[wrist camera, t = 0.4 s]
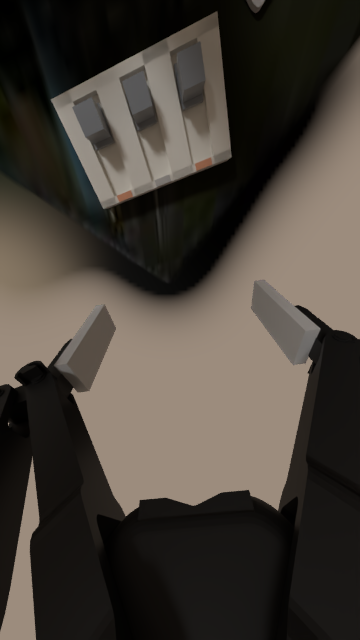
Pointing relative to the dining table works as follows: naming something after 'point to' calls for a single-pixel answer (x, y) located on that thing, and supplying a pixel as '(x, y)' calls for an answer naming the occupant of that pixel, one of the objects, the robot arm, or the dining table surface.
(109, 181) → the switch bank
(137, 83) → the switch tab
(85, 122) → the switch tab
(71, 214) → the dining table surface
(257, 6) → the handheld gaming console
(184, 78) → the switch tab
